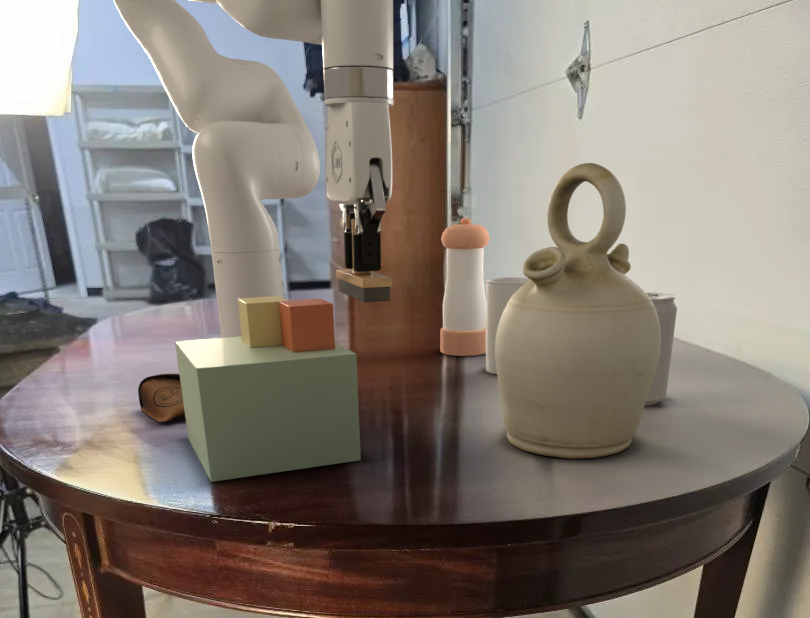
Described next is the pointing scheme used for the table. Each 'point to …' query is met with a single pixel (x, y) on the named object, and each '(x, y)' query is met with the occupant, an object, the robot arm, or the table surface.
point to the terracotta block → (307, 325)
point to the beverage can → (663, 344)
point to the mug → (497, 311)
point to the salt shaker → (464, 290)
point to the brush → (363, 282)
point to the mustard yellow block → (260, 321)
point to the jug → (577, 336)
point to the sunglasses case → (162, 397)
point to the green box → (268, 406)
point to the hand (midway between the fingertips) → (362, 268)
